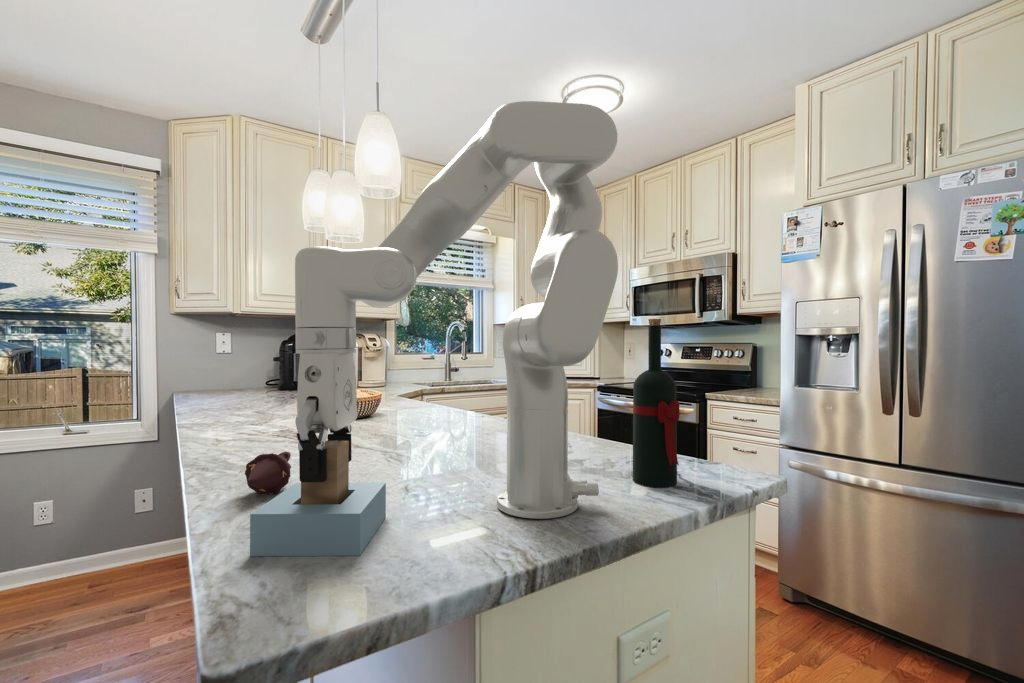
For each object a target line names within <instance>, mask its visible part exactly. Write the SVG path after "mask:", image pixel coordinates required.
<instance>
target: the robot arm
mask: <svg viewBox="0 0 1024 683" xmlns="http://www.w3.org/2000/svg"><path fill="white" fill-rule="evenodd" d="M617 144H618V129H617V126H616V124H615V121H614V120H613V118H612V117H611V116H610V115H609V114H608V113H607V112H606V111H605V110H603V109H602V108H600V107H598V106H595V105H591V104H587V103H573V102H572V103H571V102H559V101H558V102H557V101H540V100H539V101H537V100H536V101H535V100H534V101H533V100H529V101H528V100H527V101H525V100H524V101H512V102H509V103H505V104H503V105H501V106H499V107H498V108H497V109H496V110H494V112H493V113H492V114H491V115H490V116H489V118H488V119H487V121H486V122H485V123H484V125H482V127H481V128H480V129H479V130H478V131H477V133H475V135H474V136H473V137H472V138H471V139H470V140H469V141H468V142H467V144H466V145H465V146H463V148H461V150H459V152H458V153H457V154H456V155H455V156H454V158H452V159H451V160H450V162H448V164H447V165H446V166H445V167H444V168H443V169H442V170H440V172H439V173H438V174H437V175H436V176H435V177H434V178H433V179H432V180H431V181H430V182H429V183H428V184H427V186H426V187H425V188H424V189H423V190H422V191H421V193H420V194H419V196H417V198H416V200H415V201H414V202H413V205H412V206H411V208H410V209H409V211H408V212H407V213H406V214H405V216H403V218H402V220H401V221H400V222H399V223H398V224H397V225H396V226H395V228H394V229H393V230H392V231H391V232H390V234H388V235H387V236H386V238H385V239H384V240H383V241H382V242H381V243H380V244H379V245H378V247H371V248H361V249H342V248H340V247H334V246H333V247H332V246H309V247H304V248H302V249H300V250H299V251H298V252H297V253H296V255H295V258H294V294H295V295H294V298H295V299H294V304H295V310H294V311H295V315H294V318H295V320H294V321H295V322H294V323H295V354H299V361H298V362H299V363H298V376H297V390H296V391H297V393H296V395H297V397H296V398H297V399H296V412H297V413H296V415H297V416H296V417H295V422H294V423H295V427H296V431H297V433H296V438H297V441H298V443H297V449H298V452H299V453H298V454H299V456H298V457H299V459H298V460H299V461H298V463H299V469H298V470H299V473H298V474H299V481H300V483H301V482H325V481H326V480H327V449H324V445H325V441H349V463H350V462H351V461H352V424H353V423H354V422H355V421H356V420H357V418H358V400H357V398H358V397H357V396H358V395H357V381H356V380H357V379H356V369H355V360H354V355H353V353H357V328H356V326H357V318H356V317H357V315H356V314H357V313H356V312H357V309H356V308H357V306H356V304H357V301H361V302H362V303H364V304H365V305H367V306H369V307H373V308H378V309H379V308H381V309H382V308H387V307H392V306H394V305H395V304H398V303H399V302H401V301H403V300H405V299H406V298H407V297H408V296H409V295H410V294H411V293H412V291H413V290H414V289H415V285H416V284H417V279H418V277H419V276H420V275H421V274H422V273H423V272H424V271H425V270H426V269H427V268H428V267H429V265H430V264H432V262H434V260H436V259H437V258H438V256H440V254H442V253H443V252H444V251H445V250H446V249H448V248H449V247H450V246H452V245H453V244H454V243H456V242H457V241H459V240H460V239H461V238H462V237H463V236H464V235H466V233H467V232H468V231H469V230H471V228H472V227H473V226H474V225H475V224H476V223H477V221H478V220H479V219H480V218H481V217H482V216H483V215H484V213H485V212H486V211H487V210H488V209H489V207H490V206H492V204H493V203H494V202H495V201H496V200H497V199H498V198H499V196H501V194H502V193H503V192H504V191H505V189H506V188H508V187H509V185H511V183H512V182H513V181H514V180H515V179H516V178H517V177H518V176H519V174H520V173H521V172H523V171H524V170H525V169H526V168H528V166H530V165H531V164H532V163H534V168H535V172H536V174H537V177H538V178H539V180H540V183H541V184H542V186H544V187H543V188H544V189H545V190H546V192H547V195H548V197H549V201H550V202H549V204H550V206H549V207H550V208H549V213H548V216H547V220H546V224H545V227H544V229H543V231H542V232H543V233H542V235H541V238H540V240H539V243H538V247H537V249H536V252H535V255H534V258H533V261H532V264H531V269H530V280H531V285H532V287H533V289H534V290H535V291H536V293H537V294H539V295H540V296H542V297H544V300H543V301H540V302H539V301H538V302H534V303H530V304H526V305H523V306H521V307H519V308H517V309H516V310H515V311H514V312H513V313H511V314H510V316H509V317H508V319H507V321H506V322H505V325H504V327H503V332H502V348H503V349H502V350H503V356H504V364H505V371H506V392H507V393H506V394H507V395H506V398H507V399H506V401H507V402H506V404H507V405H506V490H505V491H503V492H501V493H500V494H498V495H497V497H496V506H497V508H498V509H499V510H500V511H501V512H503V513H505V514H507V515H509V516H513V517H518V518H523V519H533V520H534V519H535V520H538V519H539V520H544V519H545V520H546V519H555V518H561V517H564V516H568V515H570V514H573V513H574V512H575V511H576V510H577V509H578V503H579V502H578V501H579V500H578V497H579V496H586V497H598V496H599V489H600V488H599V483H598V482H588V480H573V478H571V477H570V475H569V472H568V465H569V464H568V463H569V462H568V460H569V459H568V456H569V455H568V454H569V453H568V452H569V451H568V450H569V449H568V447H569V445H568V443H569V442H568V438H569V437H568V436H569V435H568V434H569V433H568V432H569V426H568V425H569V424H568V423H569V422H568V421H569V420H568V418H569V416H568V414H569V411H568V409H569V389H568V382H567V377H566V376H567V375H566V372H565V367H570V366H574V365H577V364H579V363H581V362H583V361H584V360H585V359H586V358H587V357H588V356H589V355H590V354H591V352H593V350H594V348H595V345H596V344H597V341H598V338H599V335H600V332H601V330H602V327H603V325H604V321H605V319H606V315H607V312H608V309H609V305H610V302H611V299H612V296H613V293H614V289H615V285H616V282H617V280H618V279H617V278H618V274H619V260H618V256H617V255H618V254H617V251H616V249H615V246H614V244H613V242H612V241H611V239H609V237H608V236H606V235H605V234H604V233H602V232H600V227H601V224H602V218H603V206H602V201H601V199H600V196H599V194H598V192H597V190H596V188H595V186H594V185H593V182H592V181H591V179H590V177H589V175H588V174H589V173H592V171H594V170H595V169H597V168H598V167H601V165H603V164H605V163H606V162H607V161H608V160H609V159H610V158H611V157H612V155H613V154H614V152H615V149H616V148H617V146H618V145H617ZM317 434H318V436H317Z"/></svg>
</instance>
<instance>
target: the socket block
mask: <svg viewBox="0 0 1024 683" xmlns="http://www.w3.org/2000/svg"><path fill="white" fill-rule="evenodd" d="M386 485H387V483H386V482H349V494H348V498H347V499H346V500H345V501H344V502H343V503H342V504H317V505H301V482H296V483H294V484H292V485H291V486H290V487H288V488H286V489H285V490H284V491H282V492H281V493H279V494H278V495H276V496H275V497H274V498H272V499H271V500H269V501H267V502H266V503H264V504H263V505H261V506H260V507H259V508H257V509H255V510H254V511H253V512H251V513H250V516H249V557H313V556H314V557H316V556H317V557H318V556H319V557H321V556H322V557H323V556H326V557H329V556H330V557H331V556H335V557H337V556H338V557H340V556H343V557H345V556H347V557H348V556H361V555H362V553H363V552H364V550H365V549H366V547H367V546H368V544H369V543H370V541H371V540H372V538H373V536H374V535H375V533H377V531H378V529H379V528H380V526H381V525H382V523H383V522H384V521H385V518H386V516H387V513H386V511H387V509H386V508H387V507H386V506H387V505H386V503H387V502H386V501H387V500H386V498H387V494H386V492H387V491H386V488H387V486H386Z"/></svg>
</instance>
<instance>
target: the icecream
mask: <svg viewBox="0 0 1024 683" xmlns="http://www.w3.org/2000/svg"><path fill="white" fill-rule="evenodd" d="M291 455H292V454H291V452H289V451H285V450H284V451H283V452H281V453H278V454H277V453H273V452H272V453H265V454H264V453H262V454H259V455H257V456H256V457H254V458H253V459H252V460H250V461H249V462H247V463H246V464H245V471H244V475H245V478H246V483H247V486H248V488H249V489H251V490H252V491H254V492H256V493H257V494H259V495H261V496H262V495H263V496H265V495H275V494H277V493H279V492H281V490H282V489H283V488H284V487H285V486H287V485H288V484H289V480H290V478H291V468H292V466H291V464H290V463H289V460H290V459H291Z"/></svg>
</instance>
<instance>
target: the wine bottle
mask: <svg viewBox="0 0 1024 683" xmlns="http://www.w3.org/2000/svg"><path fill="white" fill-rule="evenodd" d="M661 321H662V319H661V318H650V319H648V324H649V325H648V341H647V342H648V343H647V344H648V347H647V348H648V351H647V352H648V357H647V358H648V360H647V361H648V364H647V365H648V369H646V370H645V371H642V372H641V374H639V375H638V376H637V377H636V378H635V380H634V383H633V385H632V386H633V389H632V390H633V392H632V393H633V396H632V400H633V403H632V405H633V407H632V409H633V410H632V481H633V482H634V484H637V485H640V486H642V487H647V488H653V489H669V488H672V487H676V486H677V484H678V466H679V461H678V433H677V432H678V430H677V429H678V428H677V426H678V425H677V424H678V422H679V420H680V403H679V400H678V399H677V384H676V382H675V380H674V378H673V377H672V375H670V374H669V373H667V372H666V371H665V370H662V343H661V342H662V326H661Z"/></svg>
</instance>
